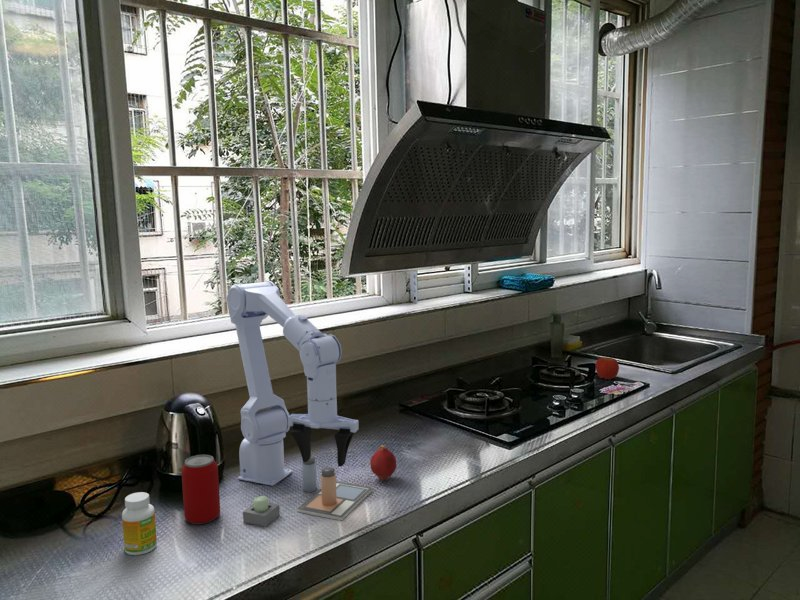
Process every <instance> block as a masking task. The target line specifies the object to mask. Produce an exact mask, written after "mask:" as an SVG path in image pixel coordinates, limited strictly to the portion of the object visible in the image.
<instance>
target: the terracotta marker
mask: <svg viewBox="0 0 800 600" xmlns="http://www.w3.org/2000/svg"><path fill="white" fill-rule="evenodd" d="M335 470H336V469H335V468H334V467H331V466H330V467H323V468H322V469H321V474H320V489H321V493H322V504H323V505H325V506H332V505H335V504H336V503H337V496H336V481H337V474H336V471H335Z"/></svg>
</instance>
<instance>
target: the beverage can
mask: <svg viewBox="0 0 800 600" xmlns="http://www.w3.org/2000/svg"><path fill="white" fill-rule="evenodd" d="M219 479H220V478H219V466H218V464H217V462H216V461H215V458H214V456H212V455H210V454H196V455H192V456H190V457H188V458H186V459H185V460H184V464H183V466H182V468H181V483H182V484H181V485H182V499H183V500H182V501H183V514H184V519H185V520H186V521H187V522H189V523H192V524H194V525H204V524H205V525H206V524H207V523H211V522H212V521H214V520H215V519H217V517H219V515H220V513H221V501H220V500H221V499H220V482H219Z"/></svg>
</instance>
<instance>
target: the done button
mask: <svg viewBox="0 0 800 600" xmlns="http://www.w3.org/2000/svg"><path fill="white" fill-rule="evenodd" d="M268 502H269V497H268V496H264V495H261V496H259V495H258V496H256V497H255V498H253V504H254V511H257V512H262V513H264V512H265V511H266V510H267V509H269V507H268Z"/></svg>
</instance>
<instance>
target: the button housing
mask: <svg viewBox="0 0 800 600" xmlns="http://www.w3.org/2000/svg"><path fill="white" fill-rule="evenodd" d="M268 507H269V509H267V510H266V511H265V512H264V513H262V512H257V511H254V503H252V504H251V505H250V506H248V507H247V508H245V509H243V511H242V520H243V521H242V522H243V523H245V524H250V525H255V526H261V527H264V528H266V527H267V526H268V525H269V524H271V523H272V522H273V521H275V520H276V519H277V518H278V517H280V515H281V513H280V503H279V504H278V503H273V502H269V501H268Z"/></svg>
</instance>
